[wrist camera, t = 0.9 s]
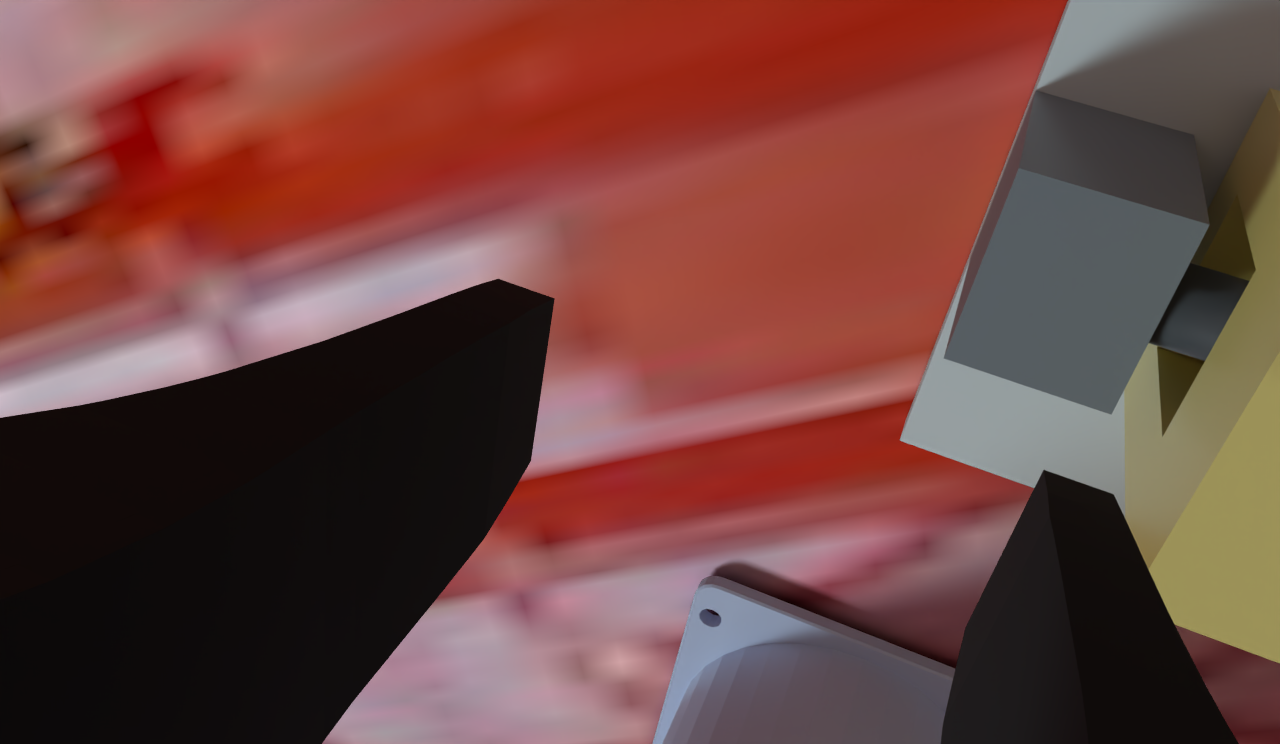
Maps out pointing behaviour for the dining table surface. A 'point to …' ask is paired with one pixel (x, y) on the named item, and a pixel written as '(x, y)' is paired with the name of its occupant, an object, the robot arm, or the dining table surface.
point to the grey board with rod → (1097, 237)
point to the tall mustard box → (1219, 426)
